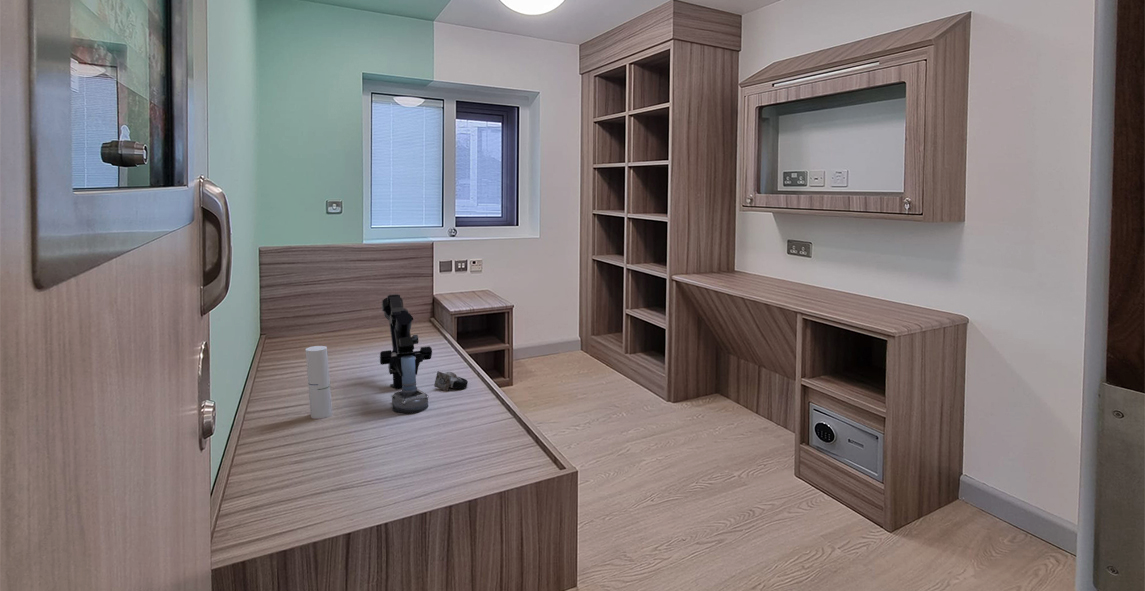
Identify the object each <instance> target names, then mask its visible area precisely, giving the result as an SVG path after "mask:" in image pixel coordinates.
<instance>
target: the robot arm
mask: <svg viewBox="0 0 1145 591" xmlns="http://www.w3.org/2000/svg"><path fill="white" fill-rule="evenodd" d="M403 301H404V299H403V298H402V297H401V295H400V294H398V293H397V294H388V295H387V296H386V297H385V298H383V299H382V300H381V311H382V312H383V316H384V318H386V320H387V321H388V323H389V332H390V338H391V345H392V346H391V347H392V350H390V349H389V350H381V351H380V352H379V363H380V365H388V374H389V375H392V383H391V384H390V385H389V386H390V387H392V388H394V389H395V390H399V389H402V370H401V357H403V356H415V371H416V376H417V375H418V372H419V366H420V364H421V363H422V362H423V361H425V360H426V361H428V360H430V359H432V355H433V350H432V347H431V346H421V347H420V349H419V350H416V351H414V350H415V346H414V345H418V344H419V336H418V334H411V330H412V323H413V321H414V317H413V315H412V314H411V313H410V312H409V310H408V309H407V308H404V302H403Z"/></svg>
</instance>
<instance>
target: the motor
mask: <svg viewBox="0 0 1145 591" xmlns="http://www.w3.org/2000/svg"><path fill="white" fill-rule="evenodd" d="M390 397H391V406H392V411H393V412H394V413H396V414H400V415H404V414H405V415H409V414H417V413H420V412H423V411H426V410H427V409H428V408H429V395H428V394H427V393H426V392H424V391H422V390H420V389H418V388H417V391H416V392H414V393H402V390H401V391H395V392H394V393H393V394H391V396H390Z"/></svg>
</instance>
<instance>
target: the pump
mask: <svg viewBox="0 0 1145 591" xmlns="http://www.w3.org/2000/svg"><path fill="white" fill-rule="evenodd" d="M401 370H402V388H401V391H402V393H414V392H416V391H417V389H418V387H417V378H416V377H417V375H416V371H415V356H403V357H401Z"/></svg>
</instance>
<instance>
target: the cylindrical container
mask: <svg viewBox="0 0 1145 591" xmlns="http://www.w3.org/2000/svg"><path fill="white" fill-rule="evenodd" d="M305 360H306V362H305V363H306V374H307V384H308V385H307V386H308V398H309V410H310V411H309V412H310V418H312V419H315V420H318V419H319V420H320V419H325V418H329V417H331V416H332V415H333V408H332V407H333V406H332V398H331V397H332V396H331V383H330V382H331V381H330V368H329V355H328V346H325V345H314V346H309V347H306V348H305Z"/></svg>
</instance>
